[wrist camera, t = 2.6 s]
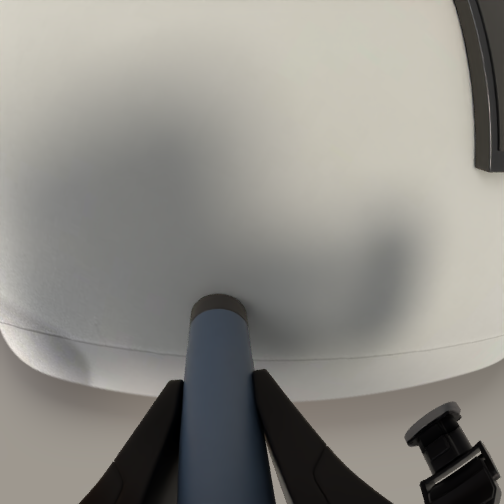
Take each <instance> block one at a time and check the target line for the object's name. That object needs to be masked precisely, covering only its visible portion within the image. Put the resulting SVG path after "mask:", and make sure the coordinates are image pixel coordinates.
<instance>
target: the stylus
mask: <svg viewBox="0 0 504 504" xmlns="http://www.w3.org/2000/svg"><path fill="white" fill-rule="evenodd" d="M253 371H255V370H254V364H253V357H252V350H251V343H250V336H249V329H248V322H247V315H246V311H245V308H244V307H243V305H242V304H241V303H240V302H239V301H238V300H237V299H235V298H233V297H231V296H228V295H225V294H212V295H208V296H206V297H203V298H202V299H200V300H199V301H198V302H197V303H196V304H195V305H194V307H193V309H192V311H191V318H190V327H189V335H188V345H187V354H186V364H185V375H184V386H183V398H182V411H181V425H180V442H179V462H178V491H177V504H276V502H275V496H274V490H273V485H272V479H271V472H270V466H269V460H268V454H267V448H266V441H265V435H264V430H263V426H262V423H261V420H260V416H259V412H258V408H257V404H256V398H255V390H254V382H253V374H252V373H253Z"/></svg>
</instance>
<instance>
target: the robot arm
mask: <svg viewBox="0 0 504 504" xmlns="http://www.w3.org/2000/svg"><path fill="white" fill-rule="evenodd" d="M252 374H253V382H254V390H255V398H256V404H257V408H258V412H259V416H260V420H261V423H262V426H263V430H264V435H265V441H266V443H267V446H268V450H269V453H270V456H271V459H272V462H273V465H274V468H275V471H276V474H277V477H278V480H279V482H280V485H281V488H282V491H283V494H284V496H285V499H286V502H287V504H393V503H392V502H390V501H389V500H387V499H386V498H385V497H383V496H382V495H381V494H379V493H378V492H377V491H375V490H374V489H373V488H372V487H370V486H369V485H368V484H366V483H365V482H364V481H363V480H361V479H360V478H359V477H358V476H357V475H355V474H354V473H353V472H352V471H351V470H350V469H349V468H348V467H347V466H346V465H345V464H344V463H343V462H342V461H341V460H340V459H339V458H338V457H337V456H336V455H335V454H334V453H333V451H332V450H331V449H330V448H329V447H328V446H326V443H325V442H324V441H323V440H322V439H321V437H320V436H319V435H318V434H317V433H316V432H315V430H314V429H313V428H312V427H311V425H310V424H309V423H308V422H307V421H306V419H305V418H304V417H303V416H302V414H301V413H300V412H299V411H298V409H297V408H296V407H295V406H294V405H293V403H292V402H291V401H290V399H289V398H288V397H287V396H286V394H285V393H284V392H283V391H282V389H281V388H280V387H279V385H278V384H277V383H276V381H275V380H274V379H273V378H272V376H271V375H270V374H269V372H268V371H267V370H266V369H261V370H255V371H253V373H252ZM183 386H184V382H183V381H182V380H171V381H169V382H168V383H167V385H166V386H165V388H164V389H163V390H162V392H161V393H160V395H159V396H158V398H157V399H156V401H155V402H154V403H153V405H152V406H151V408H150V409H149V411H148V412H147V414H146V415H145V417H144V418H143V420H142V421H141V422H140V424H139V425H138V427H137V428H136V429H135V431H134V432H133V434H132V435H131V437H130V438H129V440H128V441H127V442H126V444H125V446H124V447H123V448H122V450H121V451H120V452H119V454H118V456H117V457H116V458H115V460H114V461H115V462H112V464H111V465H110V467H109V468H108V470H107V471H106V472H105V474H104V475H103V476H102V478H101V479H100V480H99V482H98V483H97V484H96V485H95V486H94V488H93V489H92V490H91V491H90V492H89V493H88V494H87V495H86V496H85V497H84V499H83V500H82V501H81V502H80V503H79V504H177V491H178V462H179V442H180V425H181V411H182V398H183ZM461 418H462V417H461V415H460V414H457V413H454V412H452V411H449V410H448V411H446V412H444V413H443V414H442V415H441V416H440V417H438V418H437V419H436V420H435V421H434V422H432V423H431V424H430V425H429V426H427V427H426V428H425V429H423V430H422V431H421V432H419V433H418V434H417V435H415V436H414V437H413V438H411V439H410V440H408V441H407V445H411V446H419V447H420V450H421V452H422V454H423V456H424V458H425V460H426V462H427V464H428V466H429V468H430V470H431V472H432V476H431V477H429V478H427V479H426V480H423V481H421V482H420V487H421V491H422V494H423V498H424V502H425V504H499V503H500V498H501V490H500V488H499V486H498V484H497V481H496V480H498V479H499V478H500V474H499V472H498V470H497V468H496V466H495V464H494V462H493V460H492V458H491V456H490V454H489V452H488V451H487V449H486V448H485V446H484V444H483V443H482V442H481V441H479V442H478V443H477V444H476V445H475V446H474V447H472V446H471V445H470V443H469V441H468V439H467V438H466V436H465V434H464V432H463V431H462V429H461V427H460V426H459V424H458V422H457V421H458V420H460V419H461ZM480 451H481V454H480V455H479V456H478V457H475V458H474V459H472V460H471V461H470V462H468V463H467V464H465V465H464V466H463V467H461V468H460V469H458V470H457V471H455V472H454V473H453V474H451V475H450V476H448V477H447V478H445V479H443V480H442V481H441V482H439V483H437V484H435V483H436V482H437V481H439V480H440V479H442V478H444V477H445V476H447V475H448V474H449V473H451V472H453V471H454V470H455V469H457V468H458V467H460V466H461V465H463V464H464V463H465V462H467V461H468V460H469V459H471V458H472V457H473V456H475V455H476V454H477V453H479V452H480Z"/></svg>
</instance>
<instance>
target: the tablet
mask: <svg viewBox="0 0 504 504" xmlns="http://www.w3.org/2000/svg"><path fill="white" fill-rule="evenodd" d="M454 1H455V5H456V8H457V11H458V15H459V19H460V23H461V27H462V31H463V35H464V40H465V44H466V49H467V55H468V60H469V66H470V73H471V80H472V88H473V98H474V110H475V130H476V168H478V169H481V170H484V171H487V172H504V0H454Z"/></svg>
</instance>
